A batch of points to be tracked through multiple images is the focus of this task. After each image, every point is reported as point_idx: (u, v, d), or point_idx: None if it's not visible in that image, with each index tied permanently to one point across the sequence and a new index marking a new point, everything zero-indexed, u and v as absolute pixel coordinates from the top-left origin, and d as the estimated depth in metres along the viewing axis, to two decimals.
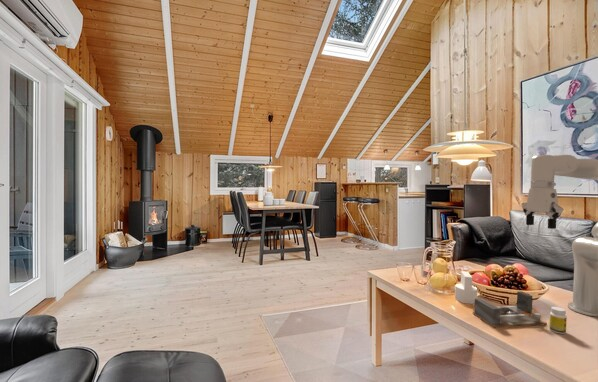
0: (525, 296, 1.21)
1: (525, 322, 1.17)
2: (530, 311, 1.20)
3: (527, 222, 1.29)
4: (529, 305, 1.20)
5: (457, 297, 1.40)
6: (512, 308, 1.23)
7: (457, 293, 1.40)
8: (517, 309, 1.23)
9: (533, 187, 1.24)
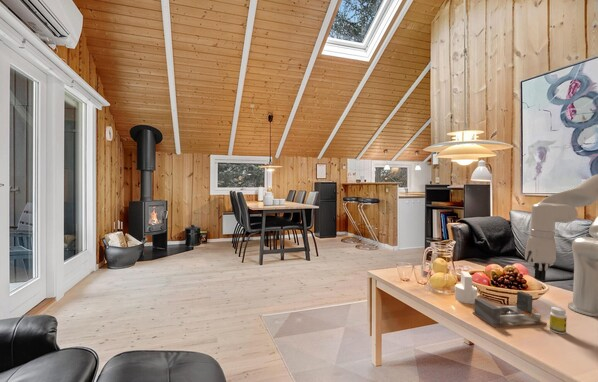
0: (525, 296, 1.21)
1: (525, 322, 1.17)
2: (530, 311, 1.20)
3: (542, 277, 1.21)
4: (529, 305, 1.20)
5: (457, 297, 1.40)
6: (512, 308, 1.23)
7: (457, 293, 1.40)
8: (517, 309, 1.23)
9: (550, 238, 1.18)
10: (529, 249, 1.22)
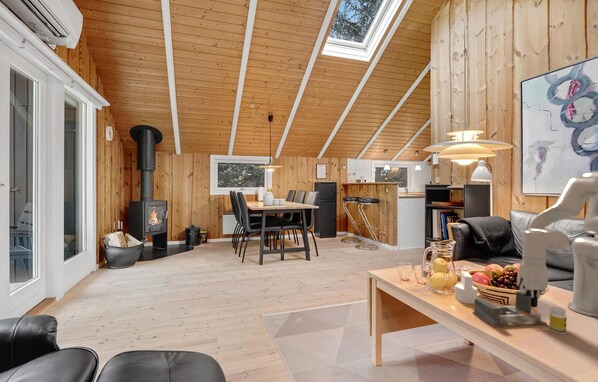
0: (524, 296, 1.20)
1: (525, 322, 1.17)
2: (529, 311, 1.20)
3: (534, 304, 1.21)
4: (528, 305, 1.20)
5: (457, 297, 1.40)
6: (511, 308, 1.23)
7: (457, 293, 1.40)
8: (516, 309, 1.22)
9: (541, 266, 1.18)
10: (521, 276, 1.22)
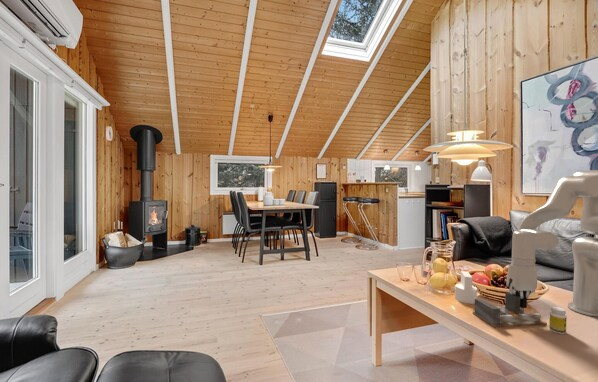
0: (513, 297, 1.20)
1: (525, 322, 1.17)
2: (518, 312, 1.19)
3: (524, 305, 1.21)
4: (517, 306, 1.19)
5: (457, 297, 1.40)
6: (500, 309, 1.23)
7: (457, 293, 1.40)
8: (505, 310, 1.22)
9: (530, 266, 1.18)
10: (510, 277, 1.21)
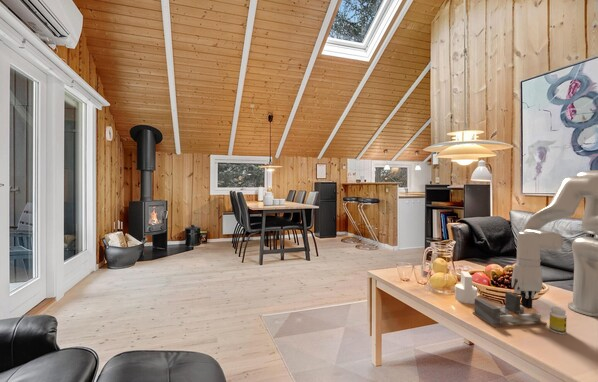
0: (513, 297, 1.20)
1: (525, 322, 1.17)
2: (518, 312, 1.19)
3: (529, 305, 1.21)
4: (517, 306, 1.19)
5: (457, 297, 1.40)
6: (500, 309, 1.23)
7: (457, 293, 1.40)
8: (505, 310, 1.22)
9: (535, 267, 1.18)
10: (515, 277, 1.22)
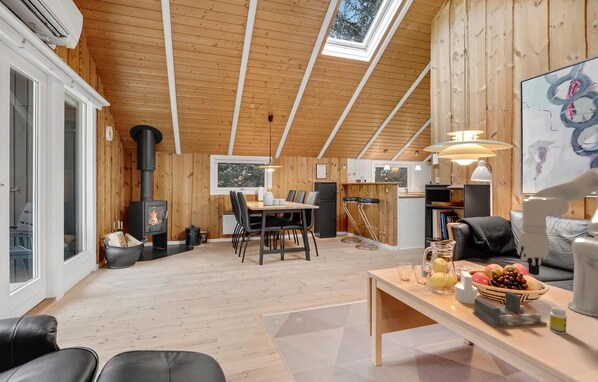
0: (513, 297, 1.20)
1: (525, 322, 1.17)
2: (518, 312, 1.19)
3: (536, 272, 1.21)
4: (517, 306, 1.19)
5: (457, 297, 1.40)
6: (500, 309, 1.23)
7: (457, 293, 1.40)
8: (505, 310, 1.22)
9: (541, 233, 1.18)
10: (521, 244, 1.21)
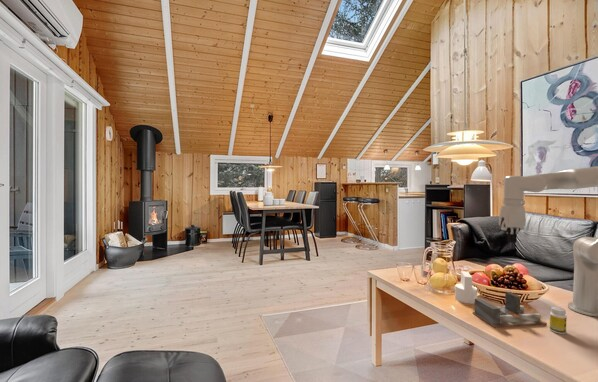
0: (513, 297, 1.20)
1: (525, 322, 1.17)
2: (518, 312, 1.19)
3: (514, 240, 1.38)
4: (517, 306, 1.19)
5: (457, 297, 1.40)
6: (500, 309, 1.23)
7: (457, 293, 1.40)
8: (505, 310, 1.22)
9: (519, 205, 1.35)
10: (502, 216, 1.38)
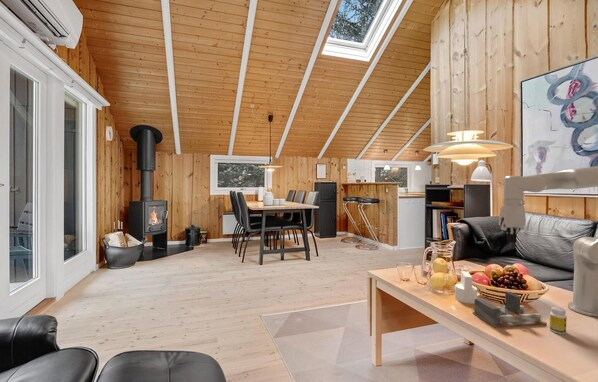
0: (513, 297, 1.20)
1: (525, 322, 1.17)
2: (518, 312, 1.19)
3: (514, 240, 1.38)
4: (517, 306, 1.19)
5: (457, 297, 1.40)
6: (500, 309, 1.23)
7: (457, 293, 1.40)
8: (505, 310, 1.22)
9: (519, 205, 1.35)
10: (502, 216, 1.39)
